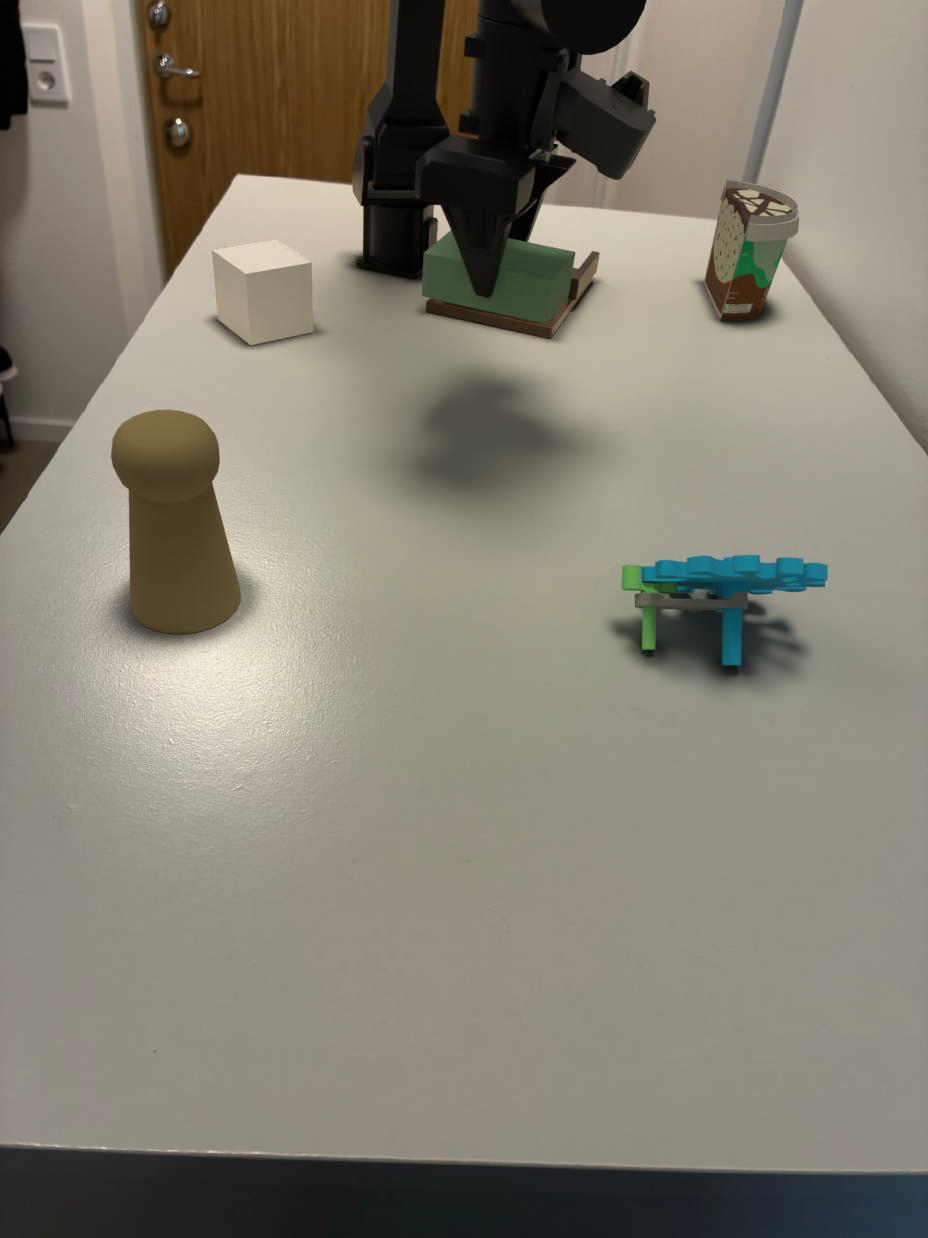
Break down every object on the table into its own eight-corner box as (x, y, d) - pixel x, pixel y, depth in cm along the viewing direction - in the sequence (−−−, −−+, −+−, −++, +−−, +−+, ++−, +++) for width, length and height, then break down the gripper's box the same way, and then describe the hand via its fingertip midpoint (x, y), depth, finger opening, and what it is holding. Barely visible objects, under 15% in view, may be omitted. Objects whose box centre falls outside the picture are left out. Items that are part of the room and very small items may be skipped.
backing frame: (478, 258, 99) (481, 223, 97) (594, 281, 97) (600, 246, 94) (422, 310, 87) (424, 272, 85) (554, 339, 85) (559, 301, 82)
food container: (786, 331, 90) (820, 223, 84) (723, 326, 90) (751, 217, 84) (758, 284, 100) (787, 183, 93) (700, 278, 100) (725, 177, 93)
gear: (805, 573, 57) (851, 543, 47) (805, 672, 56) (852, 662, 46) (618, 570, 58) (626, 540, 48) (616, 666, 58) (623, 656, 48)
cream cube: (313, 332, 82) (311, 262, 78) (250, 345, 79) (245, 273, 75) (279, 307, 85) (276, 238, 82) (217, 319, 82) (211, 249, 79)
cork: (186, 648, 50) (160, 468, 43) (106, 604, 52) (68, 426, 45) (263, 592, 54) (251, 419, 47) (185, 553, 56) (162, 383, 49)
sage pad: (451, 268, 70) (454, 226, 68) (569, 293, 68) (575, 251, 66) (421, 296, 65) (423, 252, 63) (546, 324, 63) (552, 280, 61)
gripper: (625, 66, 47) (576, 359, 57) (687, 18, 61) (638, 261, 71) (418, 32, 50) (405, 319, 60) (522, -7, 63) (497, 232, 73)
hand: (497, 280), depth 66 cm, fingers closed on sage pad, 6 cm apart
